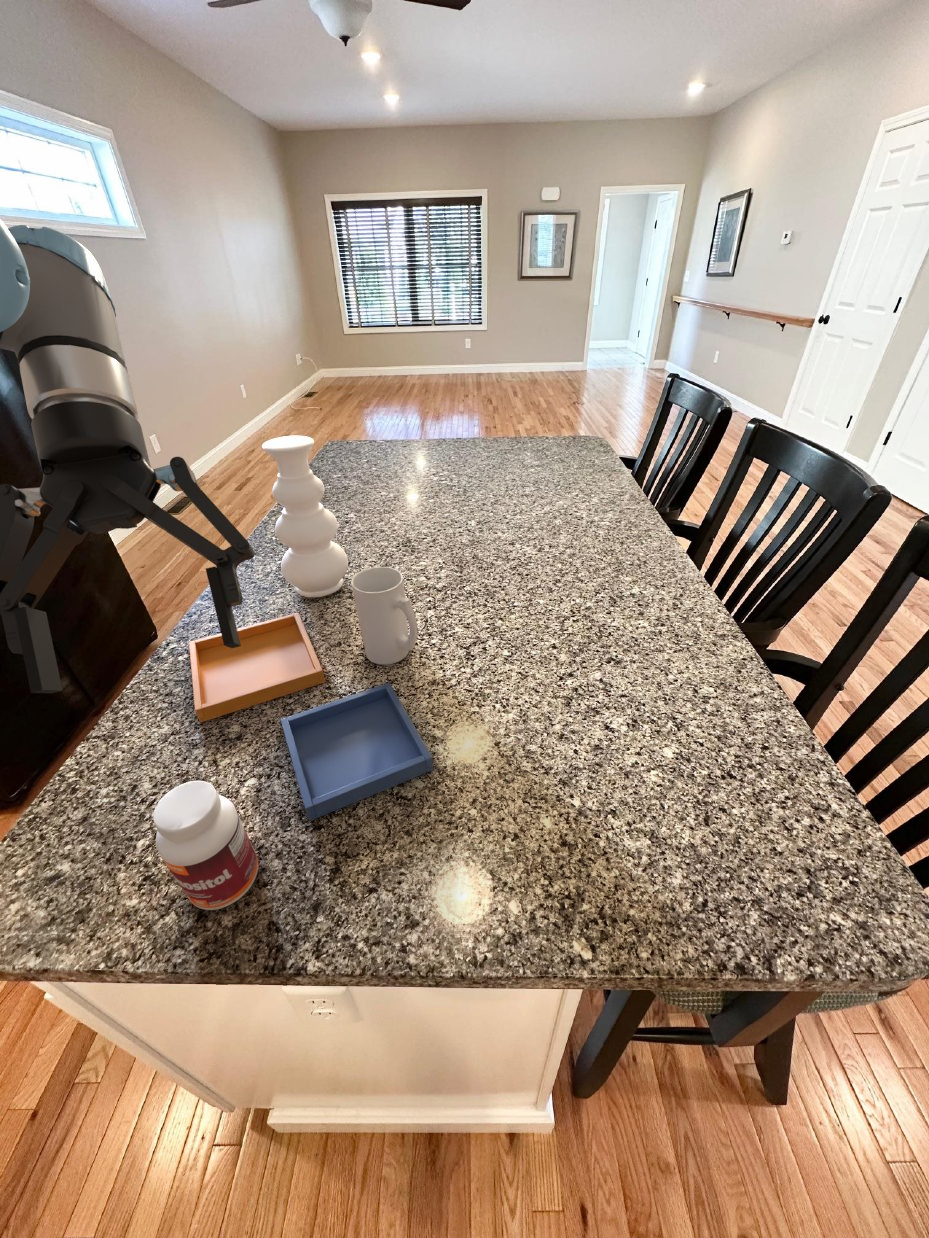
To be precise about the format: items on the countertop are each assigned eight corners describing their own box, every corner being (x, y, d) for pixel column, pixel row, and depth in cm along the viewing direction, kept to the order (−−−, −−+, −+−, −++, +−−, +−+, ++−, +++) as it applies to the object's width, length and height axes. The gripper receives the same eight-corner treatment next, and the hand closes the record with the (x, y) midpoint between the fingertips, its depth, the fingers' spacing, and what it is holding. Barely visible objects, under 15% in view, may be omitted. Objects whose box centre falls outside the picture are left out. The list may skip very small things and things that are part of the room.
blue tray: (309, 821, 51) (305, 808, 50) (284, 731, 61) (280, 719, 60) (433, 769, 56) (432, 757, 55) (391, 694, 66) (389, 682, 65)
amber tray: (200, 722, 63) (194, 710, 62) (193, 653, 75) (188, 641, 73) (325, 682, 69) (322, 670, 67) (301, 623, 80) (298, 612, 79)
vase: (312, 568, 95) (280, 428, 80) (363, 577, 91) (340, 433, 77) (274, 598, 86) (231, 448, 72) (329, 610, 83) (296, 455, 69)
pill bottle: (177, 916, 44) (125, 843, 38) (202, 849, 49) (160, 775, 43) (250, 909, 44) (210, 837, 38) (267, 843, 50) (235, 769, 43)
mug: (354, 653, 73) (340, 581, 67) (389, 631, 78) (379, 561, 71) (402, 683, 68) (392, 608, 61) (437, 658, 72) (431, 585, 65)
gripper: (251, 422, 49) (306, 633, 48) (-54, 468, 43) (-5, 711, 42) (233, 375, 42) (297, 622, 40) (-136, 422, 36) (-82, 714, 34)
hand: (143, 668), depth 41 cm, fingers open, 13 cm apart
